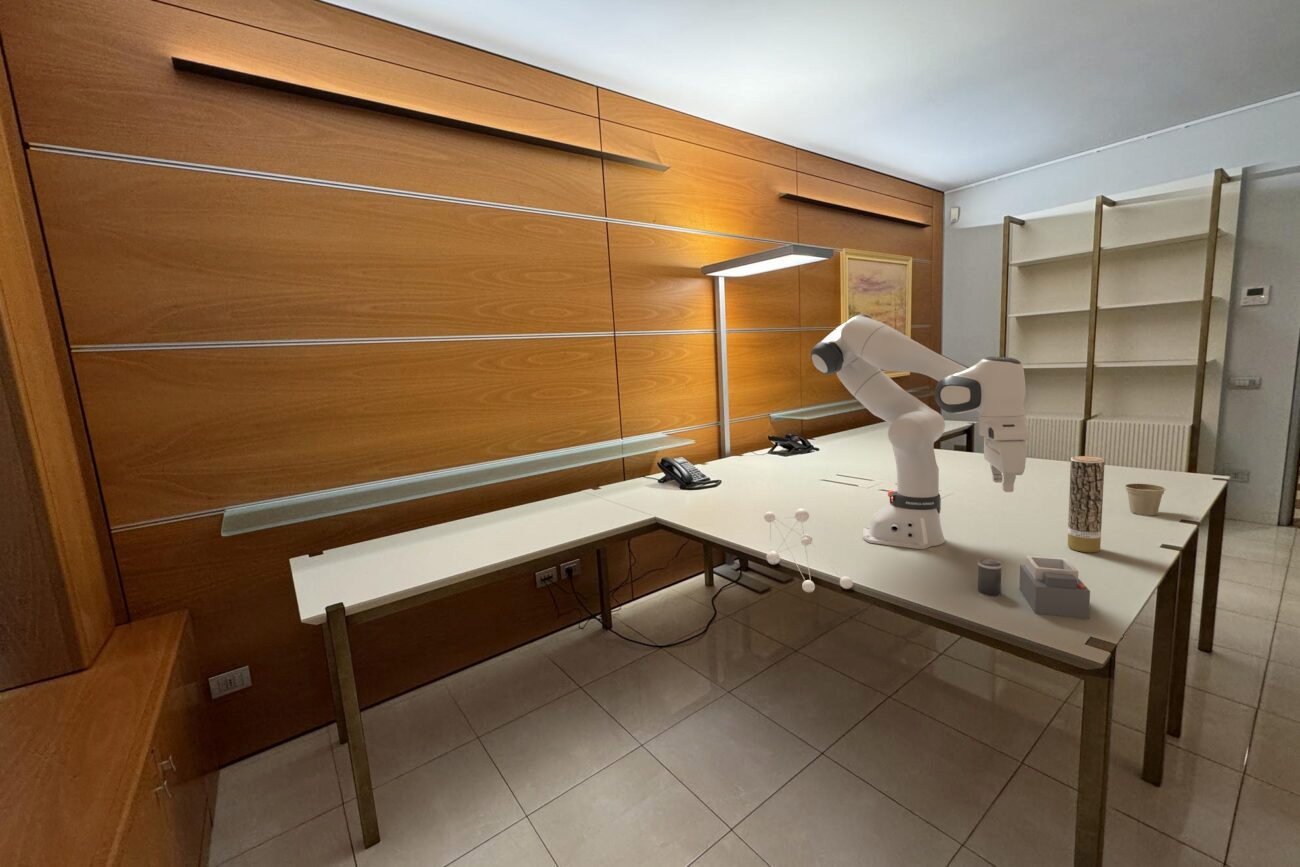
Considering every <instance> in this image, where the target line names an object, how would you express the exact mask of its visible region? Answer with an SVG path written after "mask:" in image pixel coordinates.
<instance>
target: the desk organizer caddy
mask: <svg viewBox="0 0 1300 867" xmlns="http://www.w3.org/2000/svg"><path fill="white" fill-rule="evenodd" d="M1018 586H1019V591H1020V592H1021V594H1022V596H1023V597H1024V599H1025V600H1026V601H1027V603H1028V604H1029V606H1030V607H1031V610H1032V611H1033V612H1034V614H1038V615H1048V616H1056V617H1067V618H1077V619H1083V620H1085V619H1086V620H1090V601H1091V599H1090V598H1091V590H1090V589H1088V587H1087V586H1086V585H1085V584H1084V583H1083V582H1082V581H1081V580H1080V579H1079V571H1078V569H1077V568H1076V567H1075V566H1074V565H1073V564H1072V563H1071V562H1070V561H1069V560H1068V559H1067V558H1065V557H1051V556H1038V555H1037V556H1034V555H1025V564H1020V565H1019V585H1018Z"/></svg>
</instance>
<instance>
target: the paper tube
mask: <svg viewBox="0 0 1300 867" xmlns="http://www.w3.org/2000/svg"><path fill="white" fill-rule="evenodd" d="M1105 462H1106V461H1105V459H1104V458H1103V457H1099V456H1090V455H1089V456H1087V455H1078V456H1075V455H1074V456H1071V457H1070V465H1069V466H1070V471H1069V472H1070V474H1069V494H1068V518H1067V519H1068V522H1067V547H1068V548H1070V549H1072V550H1074V551H1077V552H1082V553H1091V554H1092V553H1097V552H1099V551H1100V550H1101V541H1102V522H1103V501H1104V485H1105V484H1104V482H1105V479H1104V478H1105Z"/></svg>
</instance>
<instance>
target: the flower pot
mask: <svg viewBox="0 0 1300 867" xmlns="http://www.w3.org/2000/svg"><path fill="white" fill-rule="evenodd" d="M1124 488H1125V490H1126V492H1127V496H1128V503H1129V510H1130V513H1132V514H1138V515H1139V516H1148V517H1149V516H1157V515H1158V513H1159V510H1160V509H1159V508H1160V504H1161V502H1162V497H1163V495H1164V494H1165V493H1164V492H1165V491H1167V488H1166V487H1165V486H1161V485H1156V484H1152V483H1151V484H1150V483H1138V482H1137V483H1135V482H1133V483H1127V484H1124Z"/></svg>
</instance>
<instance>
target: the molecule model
mask: <svg viewBox="0 0 1300 867" xmlns="http://www.w3.org/2000/svg"><path fill="white" fill-rule="evenodd" d="M763 518H764V521H766V522H767V523H769V525H770V526H769V527H770V528H769V530H770V531H769V532H770V533H769V534H770V536H769V537H770V538H769V539H770V541H772V530H771V529H772V524H771V523H774V524H775V526H776V528H777V530H778V531H779V534H780V536H781V537H782V540H783V542H782V543H781V544H780V546H779V547H778V548H777V551H775V550H770V551H768V552H767V554H766V557H765V558H766V561H767V562H768V564H770V565H774V566H775V565H777V564H779V562H780V560H781V556H780V554H779V553H780V552H783V551H786V550H788V551H789V552H790V555H791V557H792V559H793V561H794V563H795V565H796V567H797V568H798V570H799V572H800V575H801V576H802V578H803V582H802V585H801V586H802V587H801V588H802V590H803V592H805V593H810V594H811V593H813V592H814V590H815V589H816V585H815V583H814V581H813V580H811V573H810V571H808V574H809V575H808V576H809V579H807V580H806V579H805V577H804V575H803V573H802V571H801V569H800V567H799V566H798V564H797V562H796V560H795V558H794V556H793V554H792V552H791V551H790V549H791V548H793V547H796V546H798V545H803V546H804V547H805V554H806V556H808V554H807V553H808V552H807V551H808V550H807V546H809V545H811V544H812V546H813V547H814V548H815V549H816V550H817V551H818V553H819V554H820V555H821V557H822V558H823V559H824V560H825V561H826V562H827V564H829V566H830V568H831V569H833V571H834V572H835V574H836V575H838V577H839V578H840V579H839V585H840V587H841V588H843V589H845V590H850V589H851V588H852V587H853V584H854V583H853V579H852V578H851V577H849V576H847V575H845V576H842V577H841V576H840V575H839V573H838V571H836V570H835V569H834V568H833V566H832V565H831V564H830V563H829V561H828V560H827V559H826V558H825V557H824V555H823V554H822V553H821V552H820V551H819V549H818V548H817V547H816V546H815V545H814V544H813V537H812V536H811V534H808V533H805V532H804V530H802V534H800V533H799V532H797V531H796V530H794V527H795V526H796V524H797V523H798V522H799V523H801V526H802V529H804V525H803V523H806V522H807V521H808V520H809V518H810V514H809V512H808V510H807V509H805V508H802V507H801V508H798V509H796V510H795V511H794V517H793V516H792V517H791V516H790V517H788V516H787V517H785V519H794V518H795V520H796V522H795V523H794V525H793V526H792V528H791V527H790V526H789V525H786V524H785V523H783V522H782V521H780V520H778V519H777V518H776V515H775V513H774V512H773V511H767V512H765V513H764V514H763ZM775 520H776V521H775ZM776 522H779V523H780V524H782V525H784V526H785V527H787V528H789V529H790V531H789V532H788V534H787V535H786V537H785V538H784V537H783V535H782V533H781V531H780V530H779V527H778V525H777V524H776ZM792 531H793V532H795V533H796V534H798V535H800V536H801V537H800V543H798V544H795V545H793V546H790V547H788V544H787V543H786V539H787V538H788V536H789V535H790V533H791V532H792ZM784 543H785V545H786V548H785V549H782V550H780V548H781V546H782V545H783V544H784ZM808 558H809V557H806V561H807V562H806V563H809V559H808ZM807 568H808V570H810V565H809V564H807Z"/></svg>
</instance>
